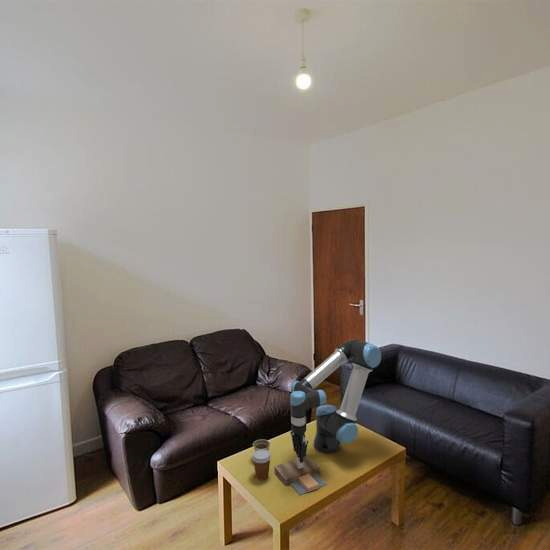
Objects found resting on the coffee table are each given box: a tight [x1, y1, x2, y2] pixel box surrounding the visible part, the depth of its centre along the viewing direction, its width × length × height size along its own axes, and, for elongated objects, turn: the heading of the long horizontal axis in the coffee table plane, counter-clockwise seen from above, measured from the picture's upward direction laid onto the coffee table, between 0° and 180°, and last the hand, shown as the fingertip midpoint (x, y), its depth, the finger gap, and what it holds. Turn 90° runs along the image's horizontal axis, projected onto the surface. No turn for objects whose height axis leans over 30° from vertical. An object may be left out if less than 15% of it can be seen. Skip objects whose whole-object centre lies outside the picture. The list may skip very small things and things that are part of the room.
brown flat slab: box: [273, 454, 321, 486], centre depth 185 cm, size 20×12×3 cm, turn 117°
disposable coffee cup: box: [251, 449, 272, 481], centre depth 182 cm, size 10×10×12 cm
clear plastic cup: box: [252, 439, 271, 452], centre depth 196 cm, size 9×9×9 cm
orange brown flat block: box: [298, 474, 320, 493], centre depth 175 cm, size 6×9×2 cm, turn 27°
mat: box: [289, 474, 327, 496], centre depth 176 cm, size 15×9×1 cm, turn 117°
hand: (300, 467), depth 183 cm, fingers closed
